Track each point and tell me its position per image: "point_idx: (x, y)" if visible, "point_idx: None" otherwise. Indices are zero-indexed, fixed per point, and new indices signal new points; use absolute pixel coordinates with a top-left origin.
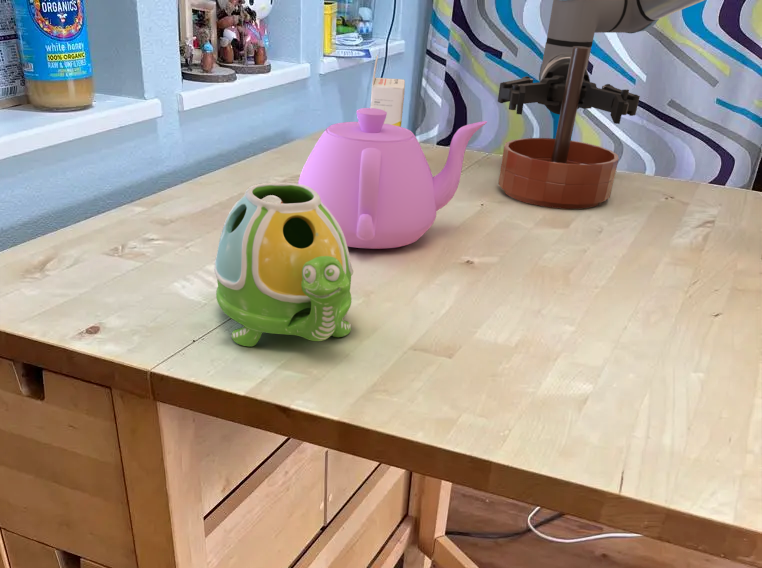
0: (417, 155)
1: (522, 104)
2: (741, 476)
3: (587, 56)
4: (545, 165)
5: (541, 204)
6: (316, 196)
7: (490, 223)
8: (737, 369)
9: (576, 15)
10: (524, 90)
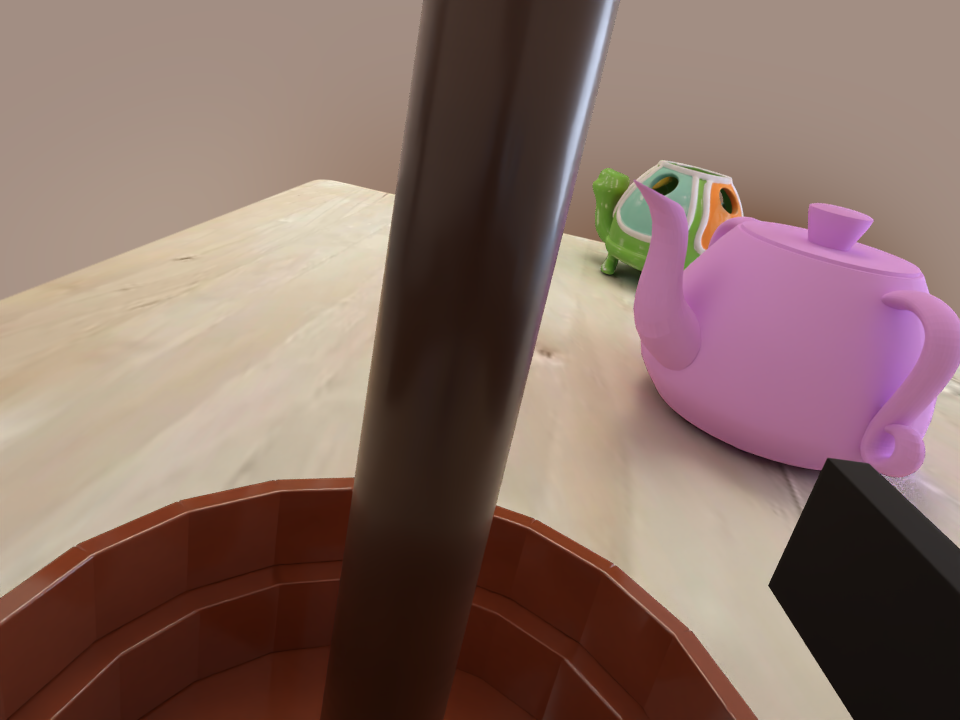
0: (713, 246)
1: (800, 528)
2: (308, 186)
3: (423, 25)
4: None
5: None
6: (667, 162)
7: (563, 487)
8: (236, 218)
9: None
10: (919, 543)
